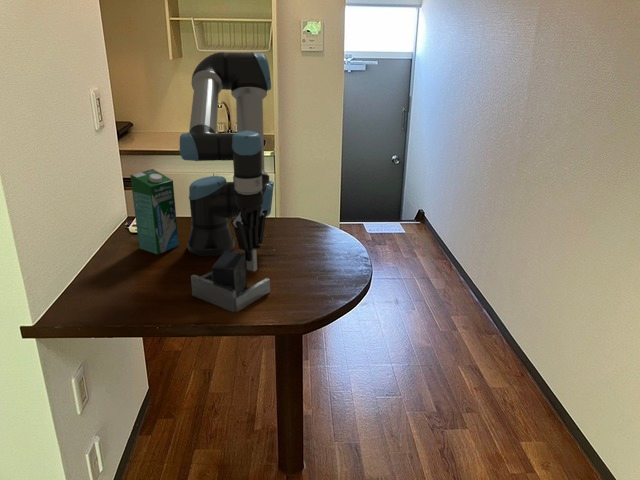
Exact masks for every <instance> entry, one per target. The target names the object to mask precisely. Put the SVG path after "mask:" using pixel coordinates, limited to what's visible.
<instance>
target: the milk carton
mask: <svg viewBox="0 0 640 480" xmlns="http://www.w3.org/2000/svg"><path fill="white" fill-rule="evenodd" d="M129 176H130V184H131V192H132V200H133V208H134V216H135V223H136V225H135V226H136V231H137V241H138V249H140V250H144V251H146V252H149V253H151V254H152V253H153V254H155V255H161V254H162V253H165V252H168V251H169V250H172V249H174V248H176V247H179V246H180V244H179V234H178V232H179V230H178V222H177V221H178V219H177V213H176V210H177V209H176V199H175V190H174V189H175V188H174V180H173V179H172V178H170V177H168V176H166V175H164V174H162V173H160V172H159V171H157V170H155V169H154V168H153V169H147V170H144V171H141V172H136V173H132V174H130V175H129Z"/></svg>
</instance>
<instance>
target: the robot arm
mask: <svg viewBox="0 0 640 480" xmlns="http://www.w3.org/2000/svg"><path fill="white" fill-rule="evenodd" d="M270 72H271V71H270V66H269V61H268V57H267V56H266V54H264V53H261V52H254V51H253V52H252V51H251V52H221V51H220V52H215V53H212V54H210V55H208V56H206V57H205V58H204V59H203V60H201V61H200V62H199V63H198V64H197V66H195V68H194V71H193V73H192V76H191V82H190V83H191V87H192V89H193V95H192V103H191V104H192V105H191V113H190V122H189V130H188V132H187V133H186V132H185V133H181V134H180V136H179V153H180V157H181V159H182V160H184V161H195V162H205V161H206V162H208V161H211V162H212V161H214V162H215V161H222V162H223V161H225V162H226V161H232V162H233V163H232V164H233V177H232V178H233V179H232V180H233V181H227V178H225V177H224V176H222V175H221V176H220V175H212V176H206V177H201V178H199V179H196V180H194V181H193V182H191V183H190V185H189V187H188V189H189V193H188V195H189V196H188V200H189V205H190V206H189V207H190V208H189V209H190V219H191V228H190V232H189V238H188V240H187V250H188V252H189V253H190V254H192V255H195V256H200V257H216V256H217V257H218V256H221V255H222V254H223V253H224V252H233V250H234V248H235V239H234V236H233V234H232V231H231V229H230V228H231V227H230V225H229V219H232V220H231V221H230V224H231V226H232V227H233V230H234V233H235V237H236V241H237V245H238V249H240V250H242V251H244V253H245V264H246V270H248V271H251V272H256V271H257V270H258V259H257V258H258V249H261V247H262V246H261V245H262V244H263V241H264V240H263V239H264V233H265V226H266V225H265V224H266V218H267V217H269V216H270V215H271V214H272V213H271V212H272V205H273V204H272V203H273V192H274V186H275V184H274V183H275V182H274V181H273V180H270V174H268V173H267V172H266V171H265V146H264V145H265V141H264V140H265V139H264V138H265V137H264V107H263V106H264V101H263V100H264V99H265V98H266V97H267V96H268V91H271V89H272V81H271V73H270ZM222 90H224V91H225V90H226V91H227V90H229V91H230V92H231V93H230V94H231V96H232V97H233V98H234V99H235V105H236V107H235V108H236V109H235V110H236V132H228V133H227V132H224V133H223V132H217V128H218V112H219V95H220V93H221V92H222Z"/></svg>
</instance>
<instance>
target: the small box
mask: <svg viewBox="0 0 640 480" xmlns="http://www.w3.org/2000/svg"><path fill="white" fill-rule="evenodd" d="M211 271H212V274H213V282H216V283H218V284H221V285H224V286H226V287H229V288H232V289H234V290H236V295H237V294H239V293H241V292H243V291H245V290H246V289H247V286H248V282H247V263H246V259H245V252H241V251H240V252H238V251H230V252H224V253H223V254H222V255H220V256H219V258H218V259H217V261H216V262H215V263H214V264H213V265H212V267H211Z"/></svg>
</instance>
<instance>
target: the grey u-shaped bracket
mask: <svg viewBox="0 0 640 480" xmlns="http://www.w3.org/2000/svg"><path fill="white" fill-rule="evenodd" d="M190 283H191V295H192V297H195V298H198V299H200V300H202V301H205V302H207V303H210V304H212V305H214V306H217V307H218V308H219V307H220V308H221V309H224V310H227V311H229V312H232V313H235V312H236V313H238V312H240V311H242V310H243V309H244V308H246V307H248V306H249V305H251V304H253V303H254V302H256V301H258V300H260V299H261V298H262V297H264V296H265V295H268V294H269V293H271V279H270V278H268V277H265V278H264V279H262V280H261V281H259V282H256V283H255V284H254V285H251V286H250V287H248V288H245V290H244V291H243V292H241V293H239V294H237V295H236V290H234V289H232V288H229V287H226V286H224V285H221V284H218V283H216V282H213V274H212V270H211V271H209V272H207V273H205V274H203V275H200V276H199V275H197V274H192V275H191V276H190Z"/></svg>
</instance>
